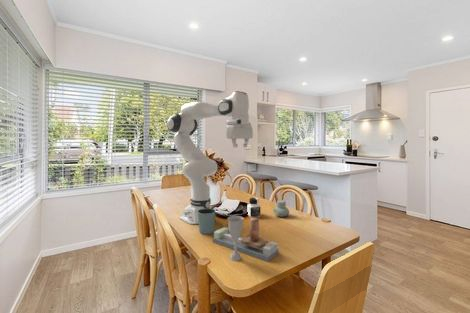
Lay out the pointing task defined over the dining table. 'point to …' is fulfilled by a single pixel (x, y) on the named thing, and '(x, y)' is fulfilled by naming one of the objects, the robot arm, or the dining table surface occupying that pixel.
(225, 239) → the rail board
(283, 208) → the grey rounded piece
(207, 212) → the teal cup
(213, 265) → the dining table surface
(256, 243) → the carriage
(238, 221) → the chalice
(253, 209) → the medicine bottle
